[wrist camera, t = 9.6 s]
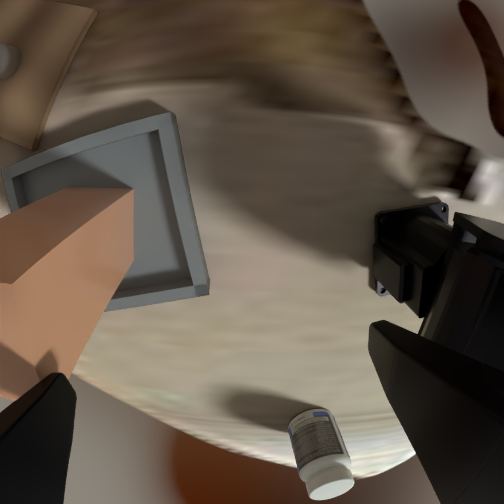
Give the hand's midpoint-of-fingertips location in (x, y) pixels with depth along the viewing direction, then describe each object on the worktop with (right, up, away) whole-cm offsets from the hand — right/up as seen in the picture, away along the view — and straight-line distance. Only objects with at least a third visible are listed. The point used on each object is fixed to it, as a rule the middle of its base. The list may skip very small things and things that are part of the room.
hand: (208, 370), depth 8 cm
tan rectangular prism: (-8, +5, +10) cm, 14 cm away
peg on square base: (-15, +16, +6) cm, 23 cm away
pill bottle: (+7, -14, +20) cm, 25 cm away
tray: (-8, +5, +11) cm, 15 cm away
